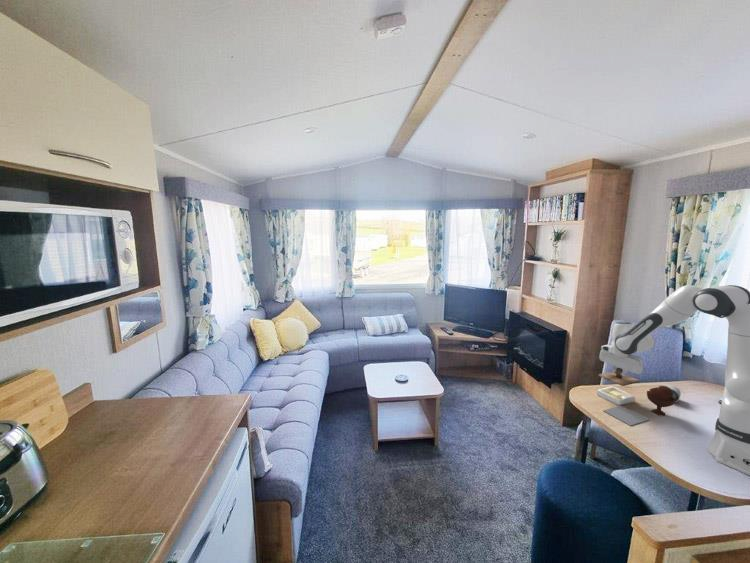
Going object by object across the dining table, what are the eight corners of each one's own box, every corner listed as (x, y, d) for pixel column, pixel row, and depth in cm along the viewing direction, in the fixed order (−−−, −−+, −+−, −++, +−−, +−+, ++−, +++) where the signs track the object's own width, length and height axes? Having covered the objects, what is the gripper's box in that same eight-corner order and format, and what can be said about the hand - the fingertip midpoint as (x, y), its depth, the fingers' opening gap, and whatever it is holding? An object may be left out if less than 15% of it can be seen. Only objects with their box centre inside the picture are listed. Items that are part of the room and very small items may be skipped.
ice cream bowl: (660, 406, 161) (664, 380, 158) (679, 419, 150) (683, 391, 148) (639, 406, 162) (642, 380, 160) (655, 419, 151) (659, 391, 149)
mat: (648, 420, 150) (648, 419, 150) (630, 426, 146) (630, 425, 146) (620, 406, 162) (620, 405, 162) (603, 411, 159) (603, 410, 158)
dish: (634, 401, 166) (635, 396, 166) (619, 405, 163) (619, 400, 162) (611, 390, 178) (612, 386, 177) (596, 394, 174) (597, 389, 174)
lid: (640, 381, 164) (641, 371, 163) (622, 386, 160) (623, 375, 159) (614, 371, 176) (615, 362, 175) (598, 375, 172) (598, 366, 171)
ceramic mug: (680, 399, 168) (681, 386, 166) (678, 405, 162) (680, 391, 161) (654, 392, 176) (655, 379, 174) (652, 397, 170) (653, 384, 169)
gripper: (647, 356, 157) (644, 381, 159) (606, 343, 176) (604, 366, 178) (638, 358, 155) (635, 384, 157) (598, 345, 174) (596, 368, 176)
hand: (618, 374), depth 168 cm, fingers closed on lid, 3 cm apart
